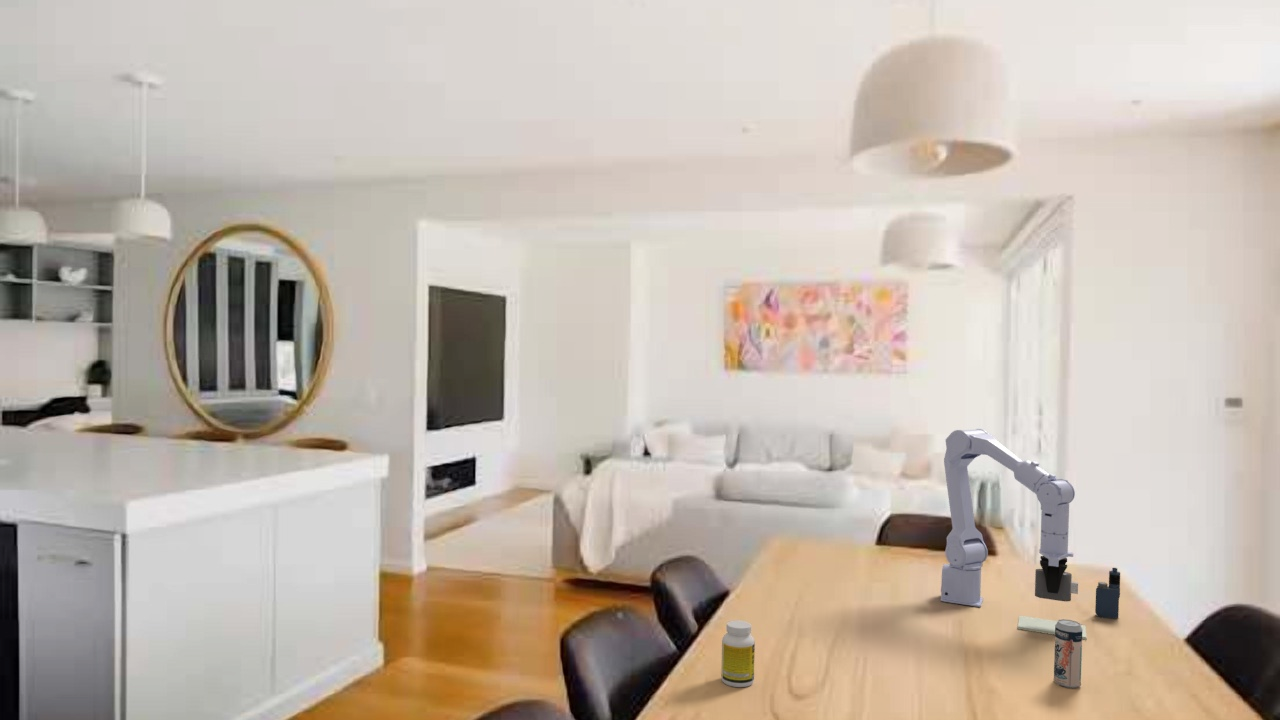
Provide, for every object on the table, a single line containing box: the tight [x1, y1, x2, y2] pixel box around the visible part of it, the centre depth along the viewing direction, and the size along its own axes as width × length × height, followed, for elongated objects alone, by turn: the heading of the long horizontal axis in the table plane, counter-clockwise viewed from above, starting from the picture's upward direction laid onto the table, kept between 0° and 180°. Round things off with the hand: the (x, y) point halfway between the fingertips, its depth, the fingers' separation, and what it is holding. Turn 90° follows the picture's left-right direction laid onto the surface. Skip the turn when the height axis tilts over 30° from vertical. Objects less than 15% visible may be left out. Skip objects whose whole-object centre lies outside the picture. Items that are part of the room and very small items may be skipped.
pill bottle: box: [720, 619, 756, 688], centre depth 157 cm, size 6×6×11 cm
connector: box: [1034, 568, 1079, 602], centre depth 191 cm, size 9×4×6 cm, turn 63°
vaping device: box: [1094, 567, 1121, 619], centre depth 201 cm, size 3×5×12 cm, turn 78°
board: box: [1017, 615, 1087, 641], centre depth 192 cm, size 14×9×1 cm, turn 63°
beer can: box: [1053, 618, 1083, 689], centre depth 159 cm, size 5×5×12 cm
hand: (1052, 590), depth 192 cm, fingers closed on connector, 3 cm apart
